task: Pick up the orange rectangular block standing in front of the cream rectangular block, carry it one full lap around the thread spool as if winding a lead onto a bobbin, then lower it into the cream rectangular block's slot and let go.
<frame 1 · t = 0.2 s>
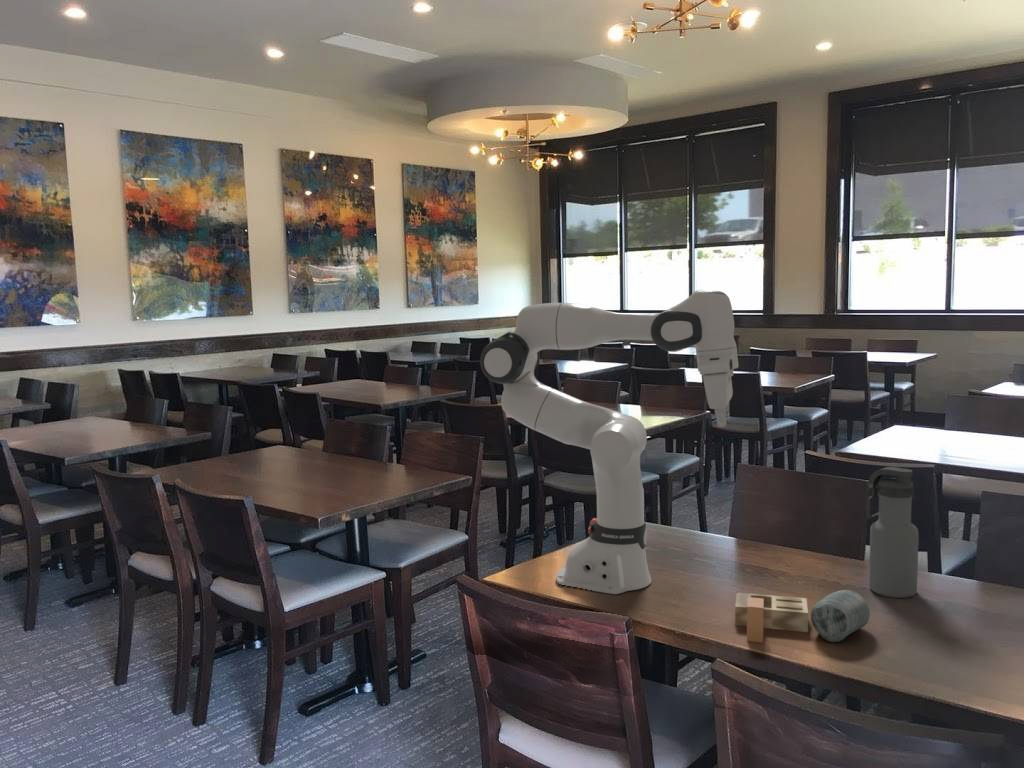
hand: (723, 423, 181), 39 cm above the table, tool pointing down, fingers open, 8 cm apart
spool: (839, 634, 160), on the table
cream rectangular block: (770, 620, 167), on the table
orange rectangular block: (755, 636, 160), on the table
water bottle: (891, 591, 182), on the table
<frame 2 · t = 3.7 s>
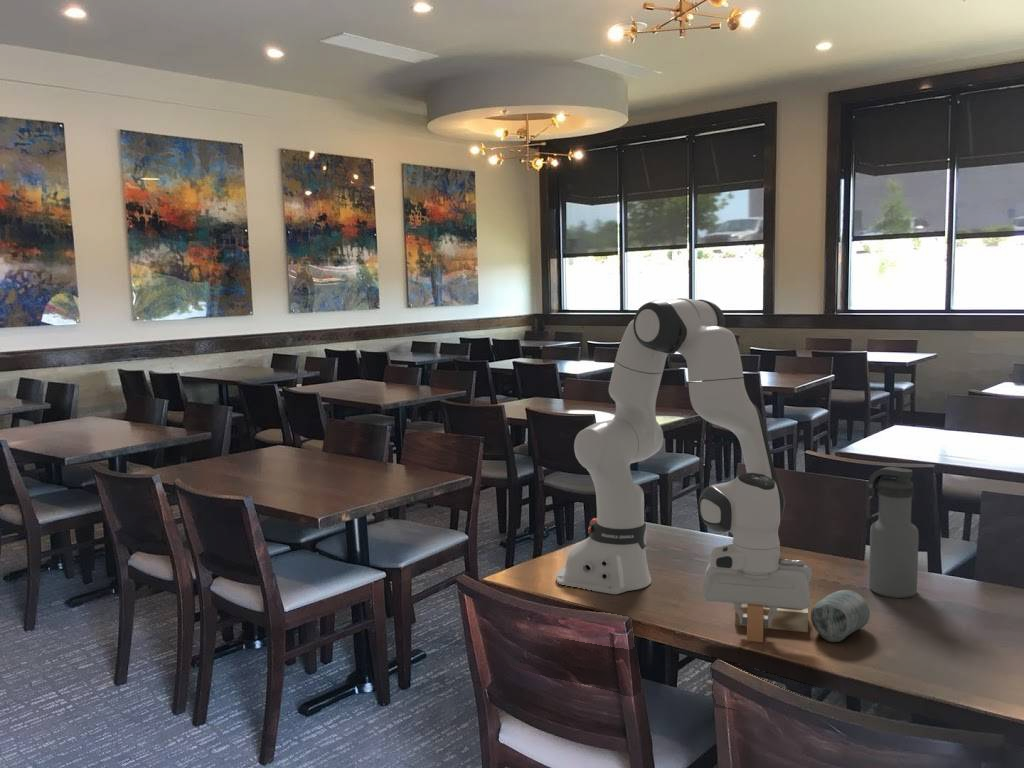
hand: (755, 625, 159), 2 cm above the table, tool pointing down, fingers closed on orange rectangular block, 3 cm apart
orange rectangular block: (755, 636, 160), on the table, touching gripper
everything else where it was.
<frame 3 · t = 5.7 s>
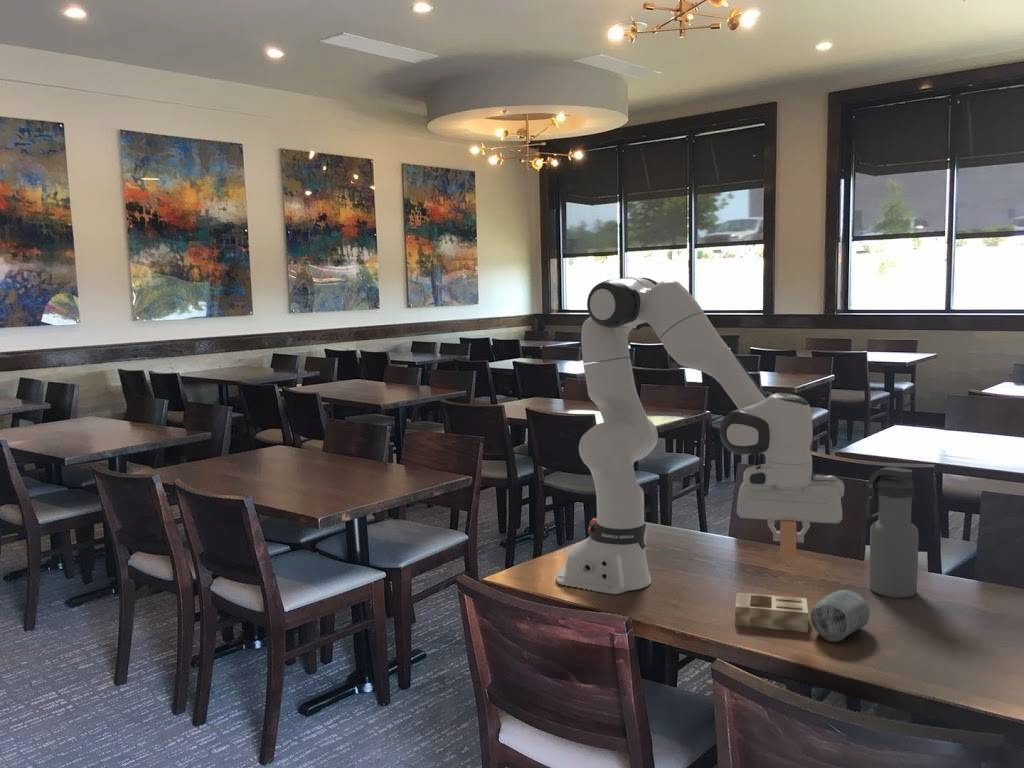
hand: (788, 541, 164), 17 cm above the table, tool pointing down, fingers closed on orange rectangular block, 3 cm apart
orange rectangular block: (788, 552, 164), point 15 cm above the table, touching gripper
everything else where it was.
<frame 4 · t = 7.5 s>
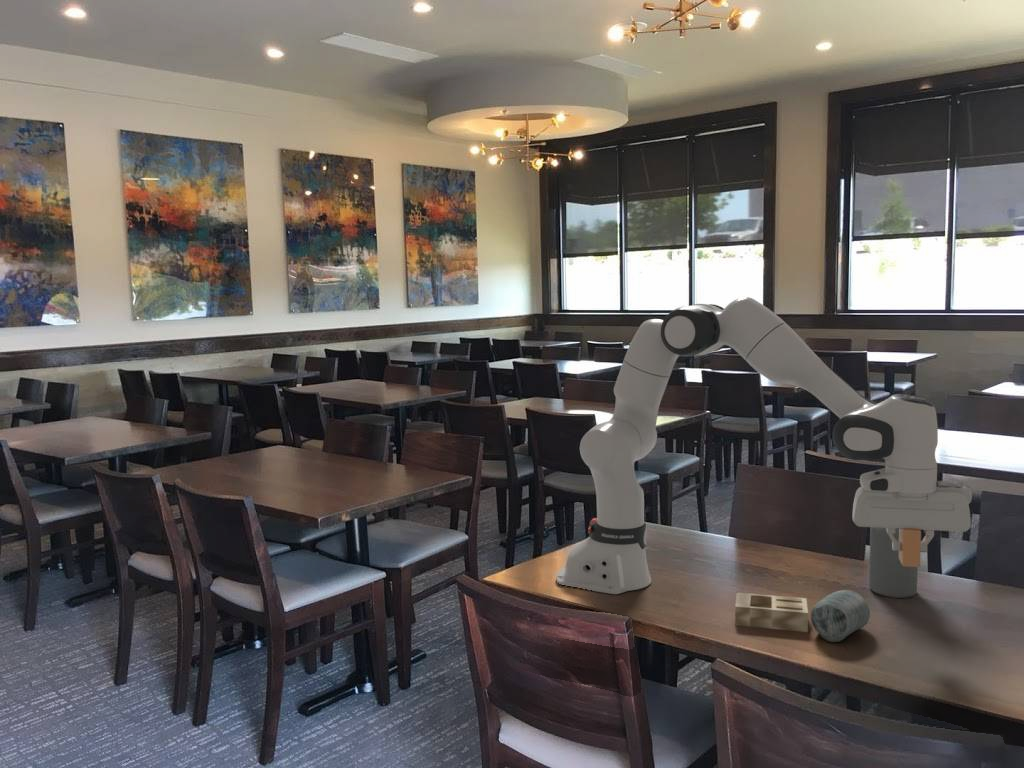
hand: (909, 550, 154), 18 cm above the table, tool pointing down, fingers closed on orange rectangular block, 3 cm apart
orange rectangular block: (909, 562, 155), point 15 cm above the table, touching gripper
everything else where it was.
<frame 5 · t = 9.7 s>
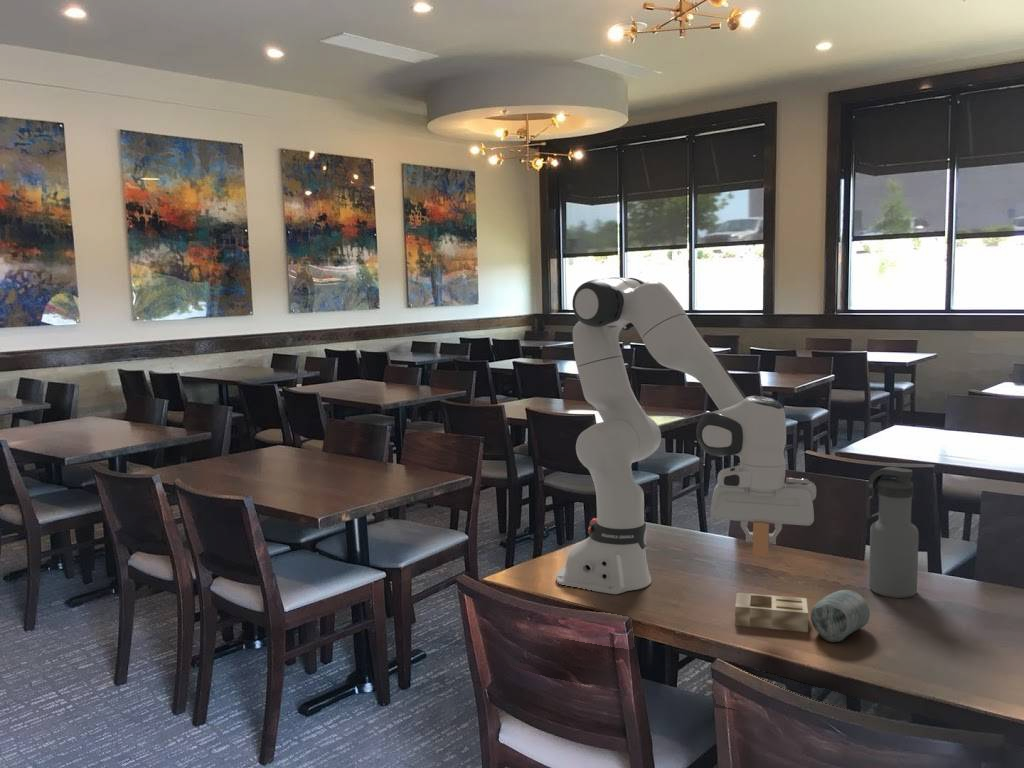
hand: (760, 542, 166), 17 cm above the table, tool pointing down, fingers closed on orange rectangular block, 3 cm apart
orange rectangular block: (760, 553, 166), point 14 cm above the table, touching gripper
everything else where it was.
when the fingers open (5 cm above the table, at t = 11.6 s): orange rectangular block drops 2 cm, resting in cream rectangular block.
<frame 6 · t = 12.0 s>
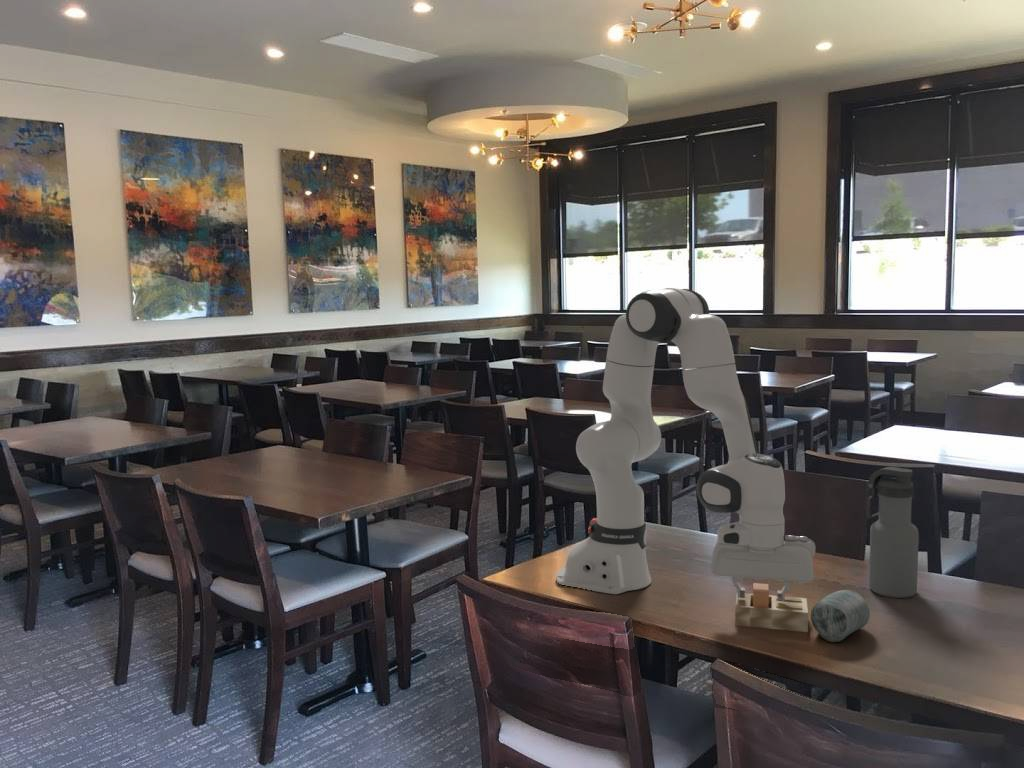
hand: (760, 598, 167), 5 cm above the table, tool pointing down, fingers open, 6 cm apart
orange rectangular block: (760, 620, 167), resting in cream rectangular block
everything else where it was.
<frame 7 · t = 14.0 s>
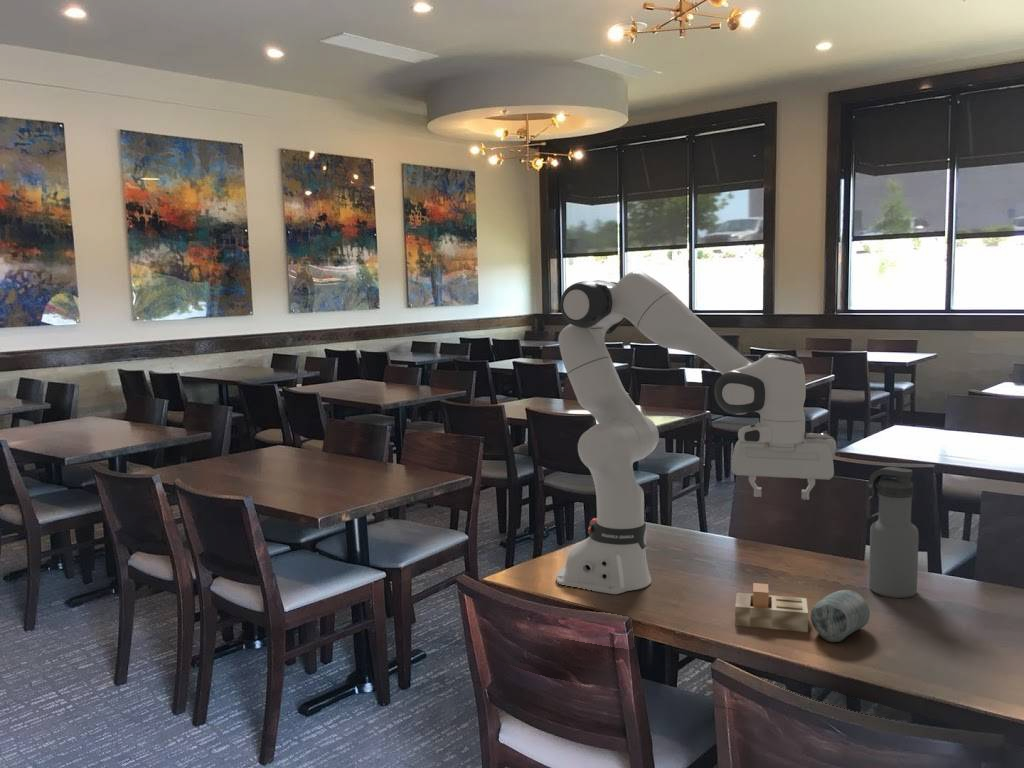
hand: (781, 497, 168), 25 cm above the table, tool pointing down, fingers open, 8 cm apart
nothing on the table moved.
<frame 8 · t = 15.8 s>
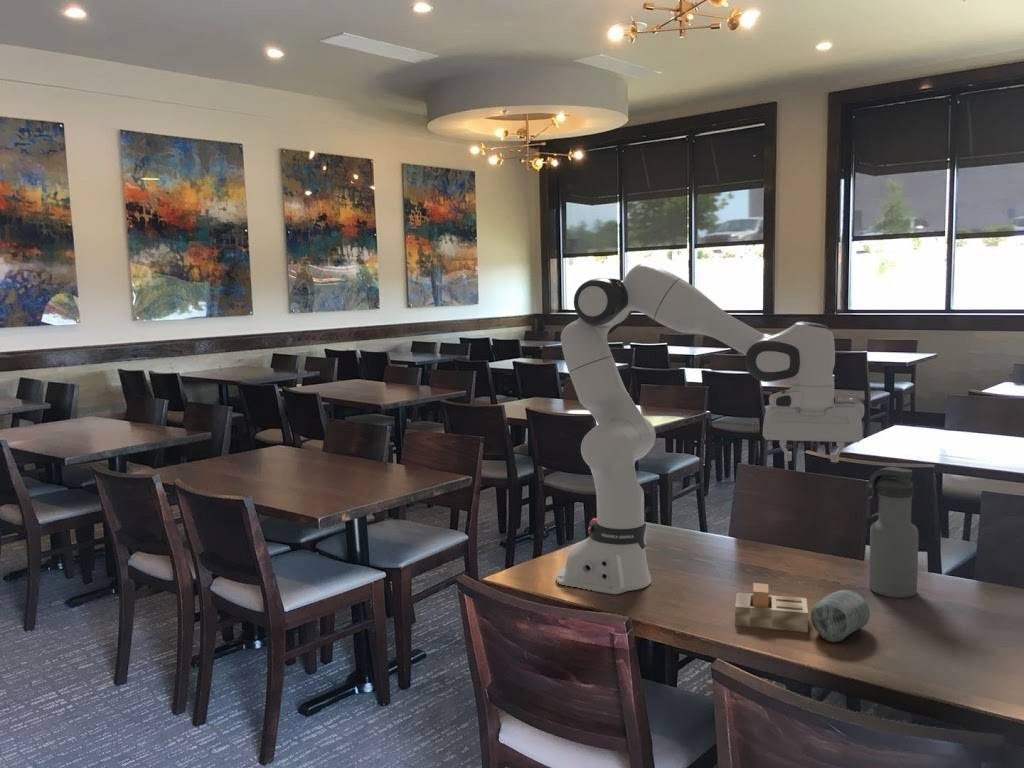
hand: (811, 461, 174), 31 cm above the table, tool pointing down, fingers open, 8 cm apart
nothing on the table moved.
at the end: orange rectangular block 0.1 cm from the target spot on the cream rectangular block, point 0.0 cm above the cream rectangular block's base; orange rectangular block tilted 0°; the gripper is holding nothing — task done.
